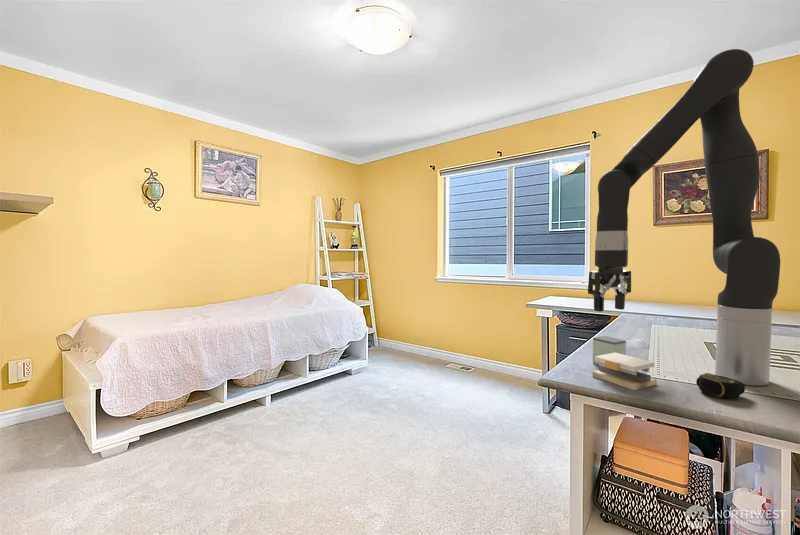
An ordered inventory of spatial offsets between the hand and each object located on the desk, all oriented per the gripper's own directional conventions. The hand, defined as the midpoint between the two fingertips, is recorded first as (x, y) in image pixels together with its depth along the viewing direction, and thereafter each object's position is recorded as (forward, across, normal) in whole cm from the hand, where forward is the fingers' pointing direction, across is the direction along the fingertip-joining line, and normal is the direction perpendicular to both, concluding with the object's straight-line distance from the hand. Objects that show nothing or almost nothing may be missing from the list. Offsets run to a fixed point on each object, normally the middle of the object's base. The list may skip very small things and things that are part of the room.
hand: (609, 310), depth 96 cm
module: (+15, 0, 0) cm, 15 cm away
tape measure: (+15, +2, -23) cm, 27 cm away
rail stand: (+15, -8, -9) cm, 19 cm away
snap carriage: (+12, -8, -9) cm, 17 cm away
